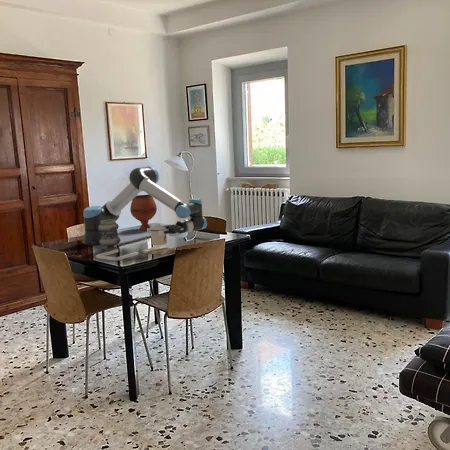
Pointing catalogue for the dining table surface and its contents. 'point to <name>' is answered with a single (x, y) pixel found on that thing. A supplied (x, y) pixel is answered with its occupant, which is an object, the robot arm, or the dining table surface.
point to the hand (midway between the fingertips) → (152, 232)
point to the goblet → (143, 209)
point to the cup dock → (103, 256)
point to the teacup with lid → (158, 239)
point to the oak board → (159, 250)
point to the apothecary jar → (109, 235)
